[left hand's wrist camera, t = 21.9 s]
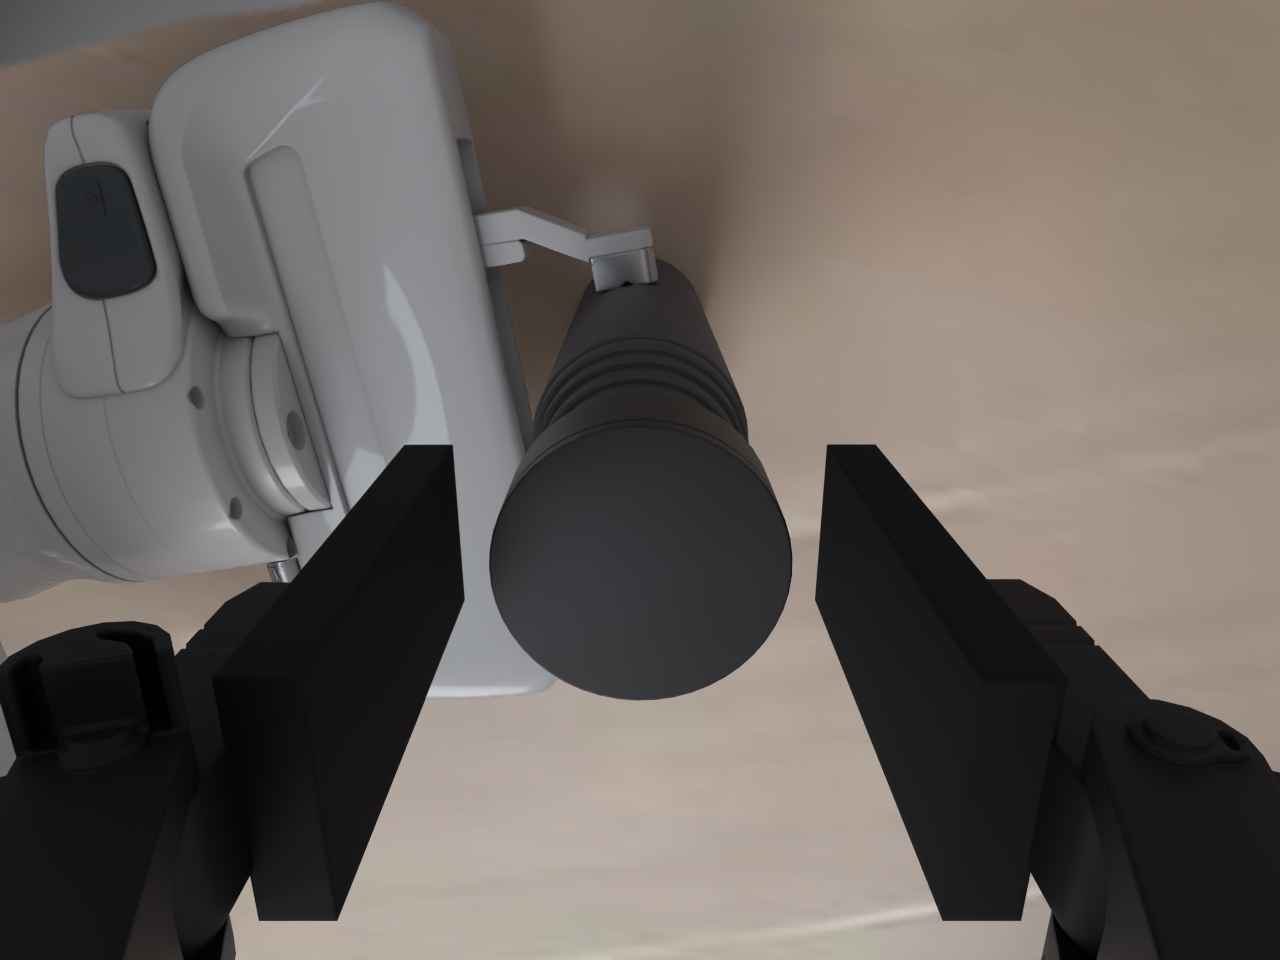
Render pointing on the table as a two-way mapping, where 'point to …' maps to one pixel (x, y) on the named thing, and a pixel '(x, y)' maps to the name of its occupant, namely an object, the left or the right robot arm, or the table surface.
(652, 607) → the cap
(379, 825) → the table surface
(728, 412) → the bottle
